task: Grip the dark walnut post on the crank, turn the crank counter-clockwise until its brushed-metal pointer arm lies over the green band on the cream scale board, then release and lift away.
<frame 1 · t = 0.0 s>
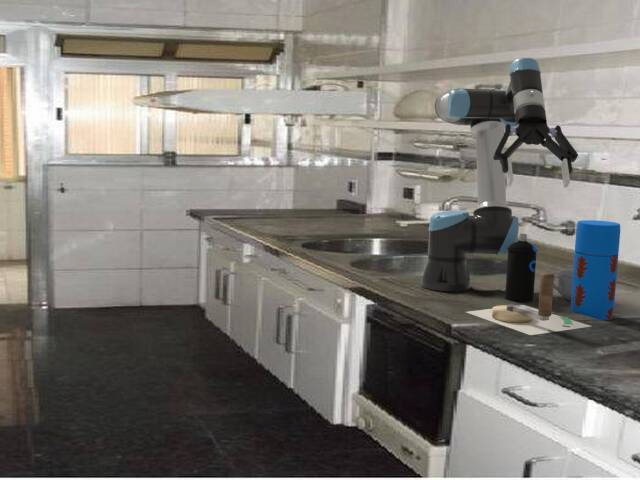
hand: (538, 183, 187), 36 cm above the counter, tool tilted 35°, fingers open, 13 cm apart
crank: (524, 294, 192), point 8 cm above the counter, hinge at 0.0°
scale board: (526, 324, 196), on the counter
teacup: (570, 299, 226), on the counter
thermos: (591, 316, 207), on the counter
aerosol can: (518, 304, 218), on the counter
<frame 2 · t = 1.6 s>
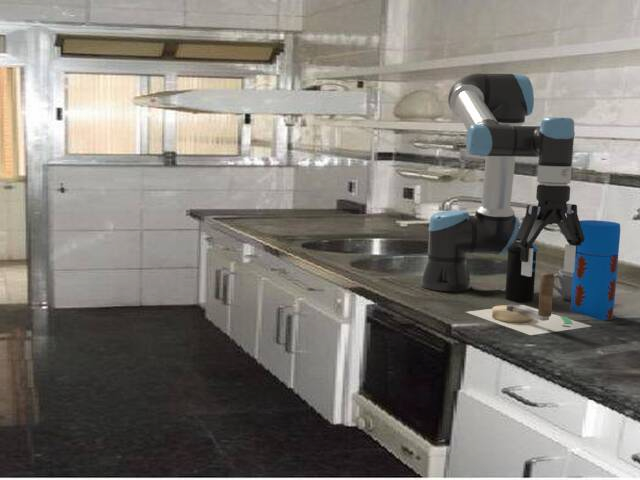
hand: (547, 273, 184), 15 cm above the counter, tool pointing down, fingers open, 13 cm apart
nothing on the counter moved.
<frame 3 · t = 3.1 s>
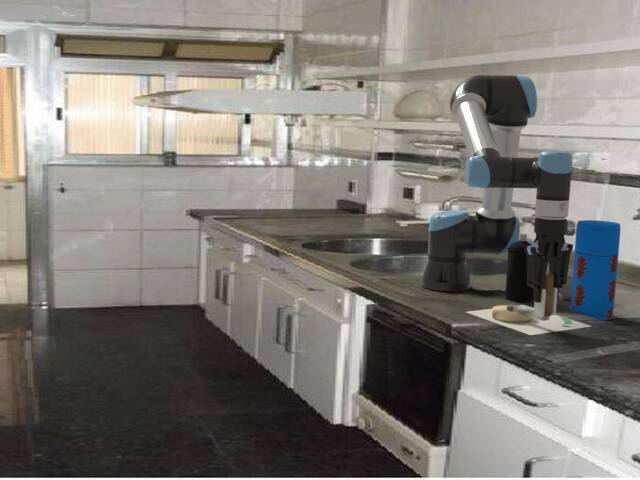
hand: (544, 314, 186), 5 cm above the counter, tool pointing down, fingers closed on crank, 3 cm apart
crank: (524, 294, 192), point 8 cm above the counter, hinge at 0.0°, touching gripper
everything else where it was.
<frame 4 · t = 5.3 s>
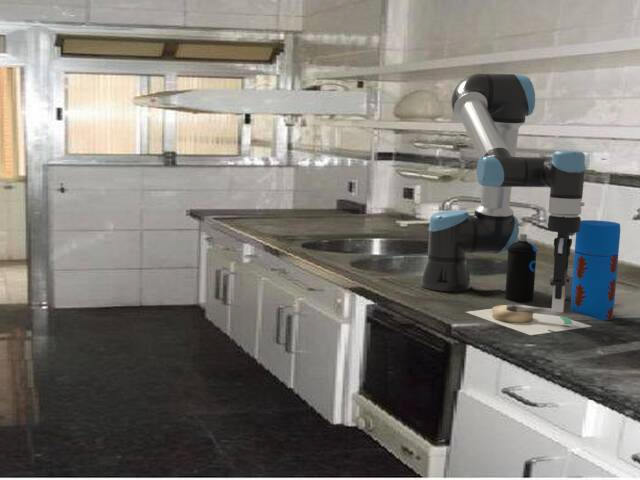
hand: (558, 309, 191), 5 cm above the counter, tool pointing down, fingers closed on crank, 3 cm apart
crank: (529, 293, 194), point 8 cm above the counter, hinge at 37.5°, touching gripper
everything else where it was.
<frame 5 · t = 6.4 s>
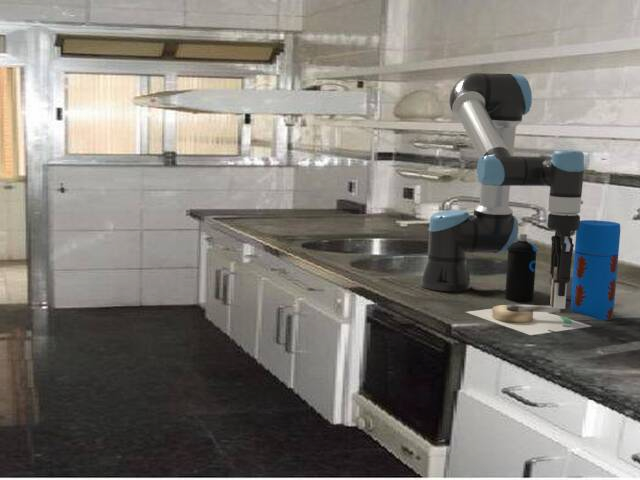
hand: (557, 306, 195), 5 cm above the counter, tool pointing down, fingers closed on crank, 3 cm apart
crank: (529, 292, 195), point 8 cm above the counter, hinge at 56.5°, touching gripper
everything else where it was.
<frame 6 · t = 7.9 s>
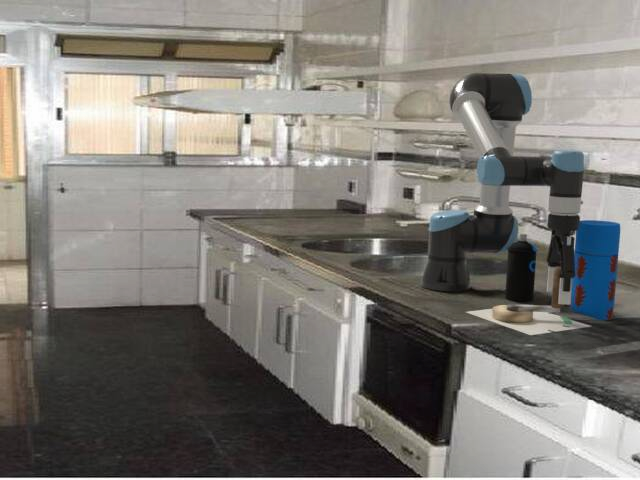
hand: (558, 297, 194), 7 cm above the counter, tool pointing down, fingers open, 13 cm apart
crank: (529, 292, 195), point 8 cm above the counter, hinge at 56.7°
everything else where it was.
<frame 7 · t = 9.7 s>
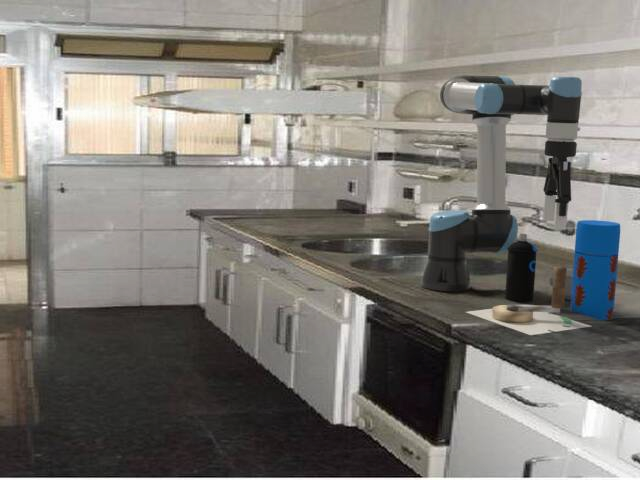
hand: (554, 224, 196), 25 cm above the counter, tool pointing down, fingers open, 13 cm apart
nothing on the counter moved.
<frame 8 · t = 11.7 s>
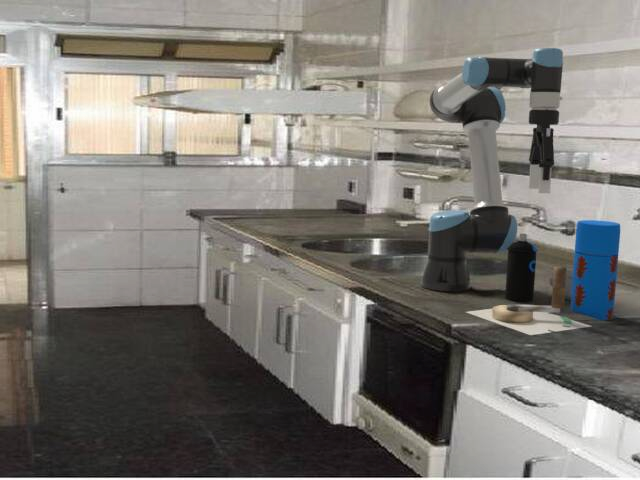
hand: (538, 190, 205), 33 cm above the counter, tool pointing down, fingers open, 13 cm apart
nothing on the counter moved.
at the end: crank at +57° (first picture: +0°); the gripper is holding nothing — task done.
